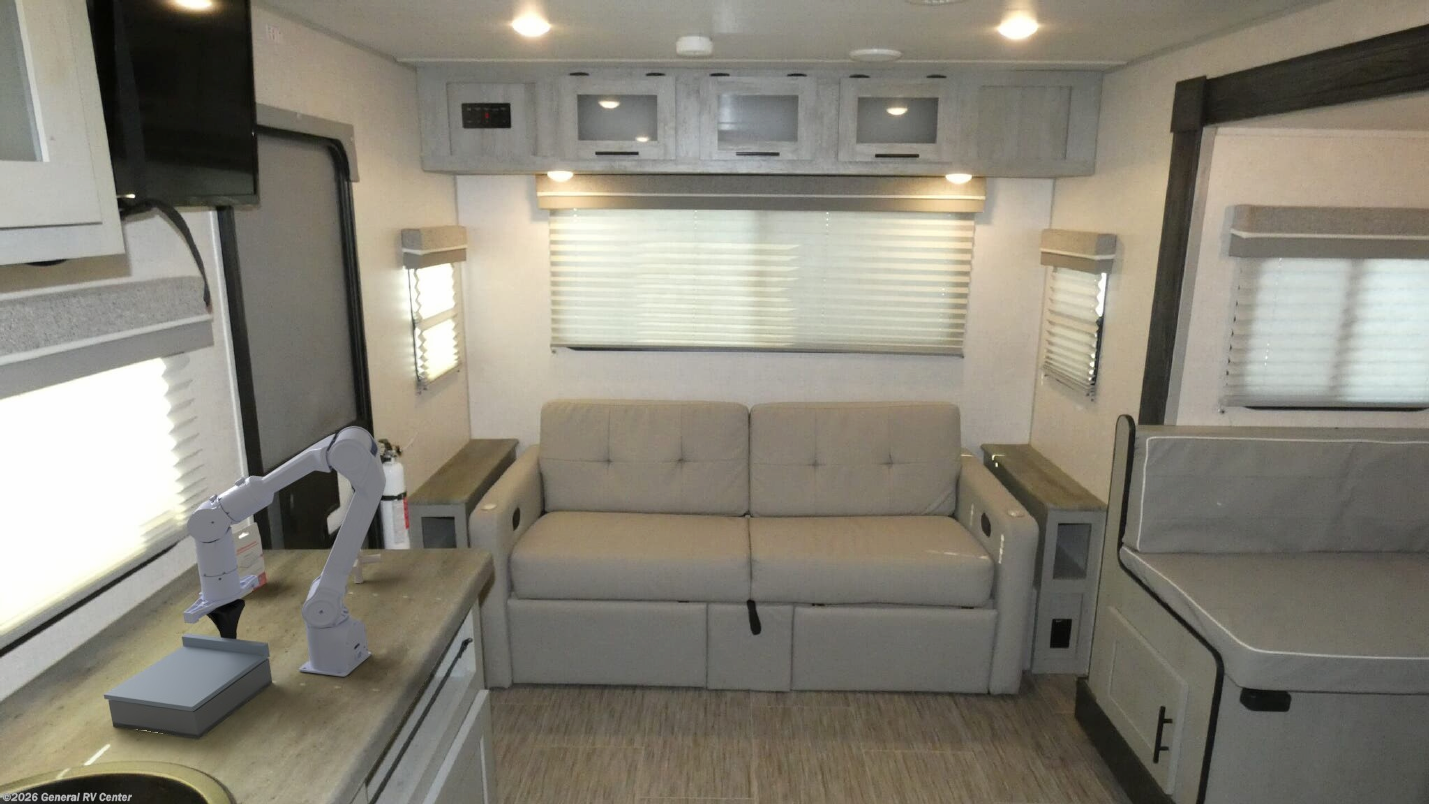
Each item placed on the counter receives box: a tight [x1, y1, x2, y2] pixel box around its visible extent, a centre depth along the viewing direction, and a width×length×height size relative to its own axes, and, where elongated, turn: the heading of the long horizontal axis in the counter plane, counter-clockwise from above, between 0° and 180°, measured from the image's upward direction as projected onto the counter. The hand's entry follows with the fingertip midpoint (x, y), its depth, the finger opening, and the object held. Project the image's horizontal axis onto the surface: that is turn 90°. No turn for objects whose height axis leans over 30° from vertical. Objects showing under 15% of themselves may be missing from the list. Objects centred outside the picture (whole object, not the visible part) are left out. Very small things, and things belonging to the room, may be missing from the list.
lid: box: [103, 632, 271, 712], centre depth 134 cm, size 16×16×3 cm
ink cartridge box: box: [232, 522, 268, 599], centre depth 175 cm, size 9×5×15 cm, turn 168°
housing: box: [107, 657, 273, 740], centre depth 135 cm, size 16×16×5 cm
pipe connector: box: [350, 548, 382, 584], centre depth 180 cm, size 10×10×10 cm
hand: (229, 641), depth 142 cm, fingers closed, pressing on lid
